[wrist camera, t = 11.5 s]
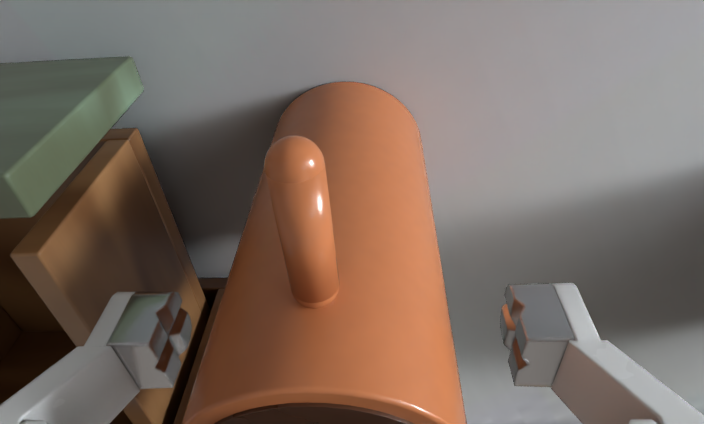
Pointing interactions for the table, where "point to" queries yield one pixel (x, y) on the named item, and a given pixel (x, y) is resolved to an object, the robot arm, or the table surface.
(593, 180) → the table surface
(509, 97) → the table surface
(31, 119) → the drawer
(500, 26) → the table surface
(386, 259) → the orange mug
